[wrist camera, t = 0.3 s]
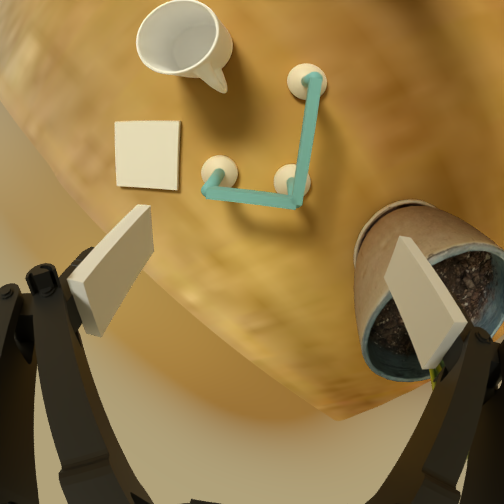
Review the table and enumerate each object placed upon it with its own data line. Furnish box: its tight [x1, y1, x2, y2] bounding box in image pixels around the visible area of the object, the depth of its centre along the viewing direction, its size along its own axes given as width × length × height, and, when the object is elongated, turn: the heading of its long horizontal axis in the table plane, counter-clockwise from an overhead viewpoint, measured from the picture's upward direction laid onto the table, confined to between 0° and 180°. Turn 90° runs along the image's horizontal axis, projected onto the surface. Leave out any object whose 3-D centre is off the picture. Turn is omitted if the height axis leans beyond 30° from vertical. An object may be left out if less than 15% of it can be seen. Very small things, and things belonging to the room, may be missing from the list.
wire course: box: [201, 64, 327, 210], centre depth 32 cm, size 19×15×9 cm
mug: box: [136, 0, 233, 93], centre depth 26 cm, size 9×12×11 cm
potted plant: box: [354, 199, 504, 464], centre depth 26 cm, size 21×22×40 cm
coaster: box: [115, 121, 181, 190], centre depth 38 cm, size 10×10×1 cm
